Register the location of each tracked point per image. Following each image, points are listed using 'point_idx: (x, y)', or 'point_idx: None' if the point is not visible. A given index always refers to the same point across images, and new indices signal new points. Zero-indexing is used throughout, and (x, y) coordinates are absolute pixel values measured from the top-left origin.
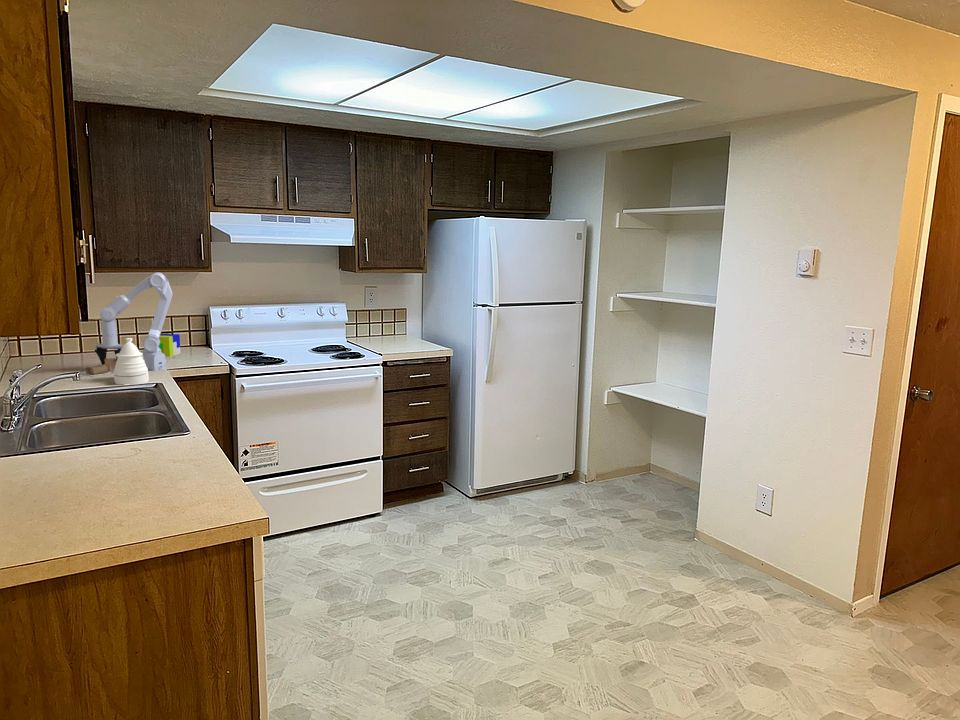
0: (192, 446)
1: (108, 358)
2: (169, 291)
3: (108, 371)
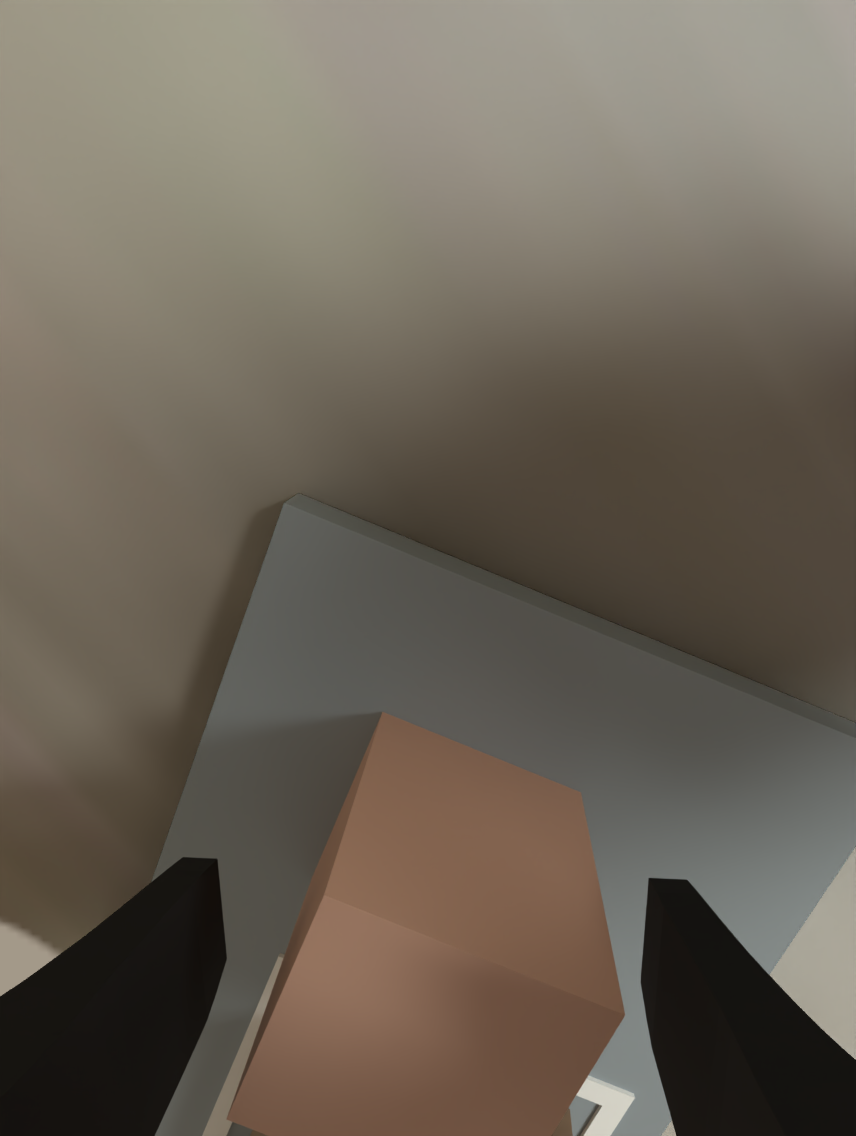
0: None
1: (278, 1035)
2: None
3: None
